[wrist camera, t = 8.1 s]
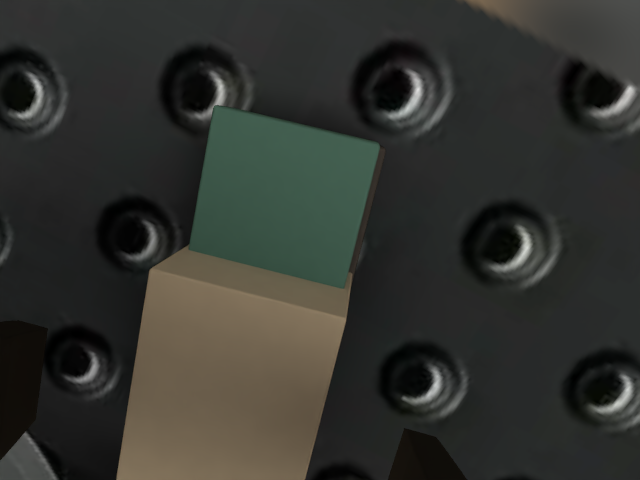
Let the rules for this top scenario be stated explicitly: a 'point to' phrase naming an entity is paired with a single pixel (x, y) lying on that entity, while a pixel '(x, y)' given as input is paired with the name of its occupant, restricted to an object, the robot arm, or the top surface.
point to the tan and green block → (250, 305)
